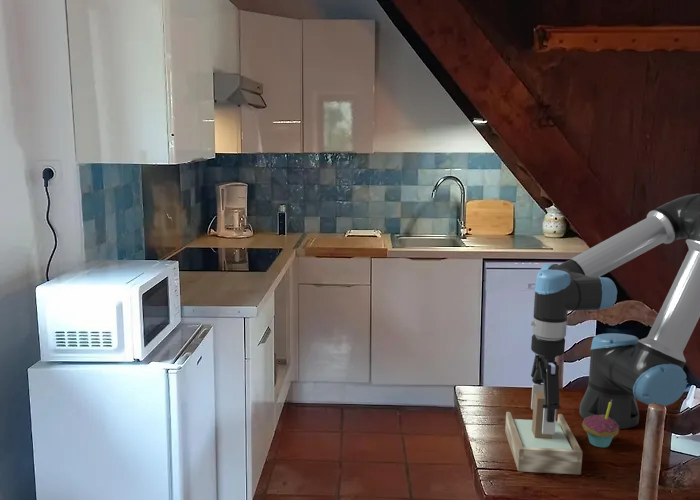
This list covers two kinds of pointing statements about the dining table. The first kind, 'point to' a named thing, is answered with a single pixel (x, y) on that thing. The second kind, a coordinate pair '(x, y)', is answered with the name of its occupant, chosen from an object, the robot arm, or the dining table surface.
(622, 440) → the dining table surface
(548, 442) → the cover plate
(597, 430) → the cupcake
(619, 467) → the dining table surface
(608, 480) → the dining table surface
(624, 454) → the dining table surface
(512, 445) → the birch box
